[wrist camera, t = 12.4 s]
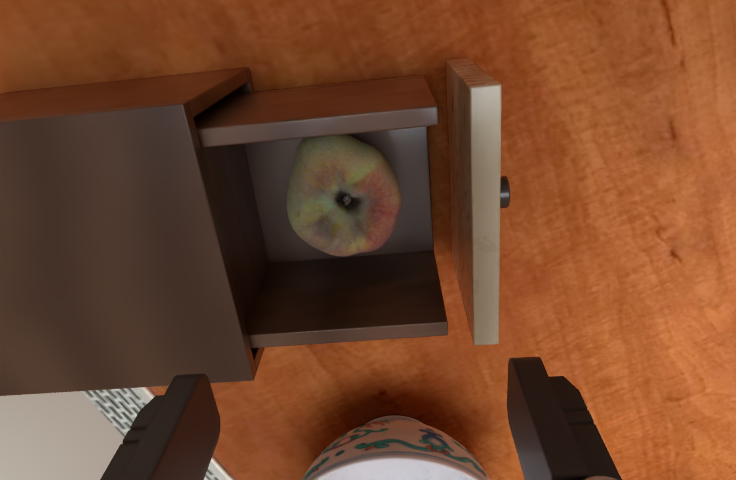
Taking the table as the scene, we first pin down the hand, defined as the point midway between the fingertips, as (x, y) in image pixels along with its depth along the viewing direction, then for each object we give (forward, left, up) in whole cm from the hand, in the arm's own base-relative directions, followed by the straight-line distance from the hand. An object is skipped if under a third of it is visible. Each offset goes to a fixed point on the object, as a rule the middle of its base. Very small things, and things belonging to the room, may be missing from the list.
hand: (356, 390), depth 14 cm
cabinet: (0, -14, -19) cm, 23 cm away
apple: (0, -1, -18) cm, 18 cm away
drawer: (0, 0, -18) cm, 18 cm away
